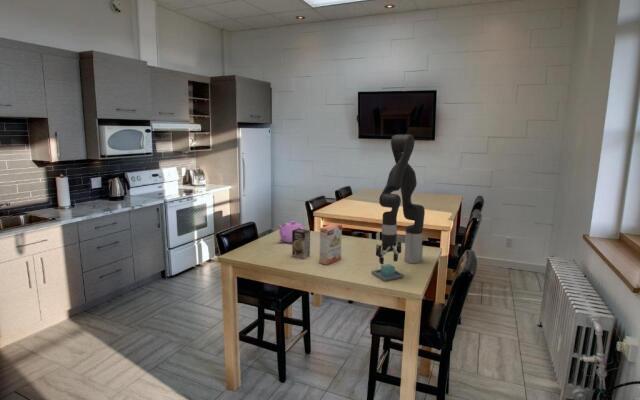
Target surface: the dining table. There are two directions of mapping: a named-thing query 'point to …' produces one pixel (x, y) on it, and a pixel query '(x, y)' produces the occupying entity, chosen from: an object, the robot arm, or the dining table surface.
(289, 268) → the dining table surface
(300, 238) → the coffee box
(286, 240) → the teapot
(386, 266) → the teal cube
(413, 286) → the dining table surface
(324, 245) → the cracker box
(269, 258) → the dining table surface
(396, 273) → the tray
